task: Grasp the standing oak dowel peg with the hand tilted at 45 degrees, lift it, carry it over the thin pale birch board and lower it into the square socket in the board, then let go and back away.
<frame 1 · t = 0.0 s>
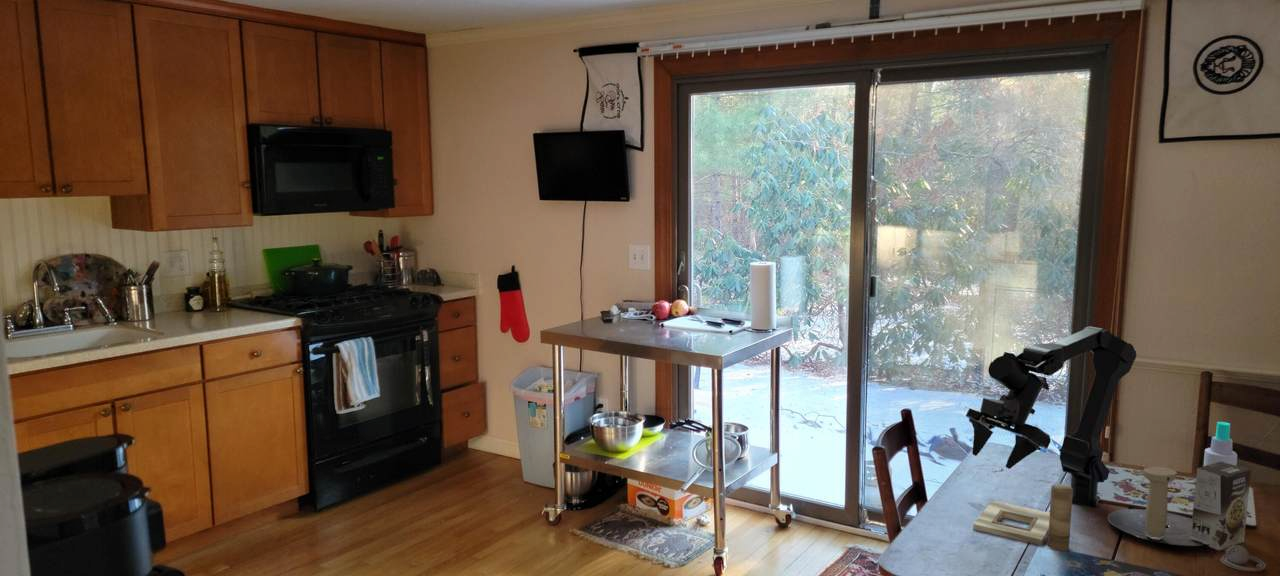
hand: (990, 461, 191), 15 cm above the table, tool tilted 35°, fingers open, 9 cm apart
spray bottle: (1214, 518, 196), on the table
coffee box: (1217, 541, 185), on the table
peg: (1058, 546, 182), on the table
handle: (1154, 539, 186), on the table
socket board: (1015, 524, 194), on the table
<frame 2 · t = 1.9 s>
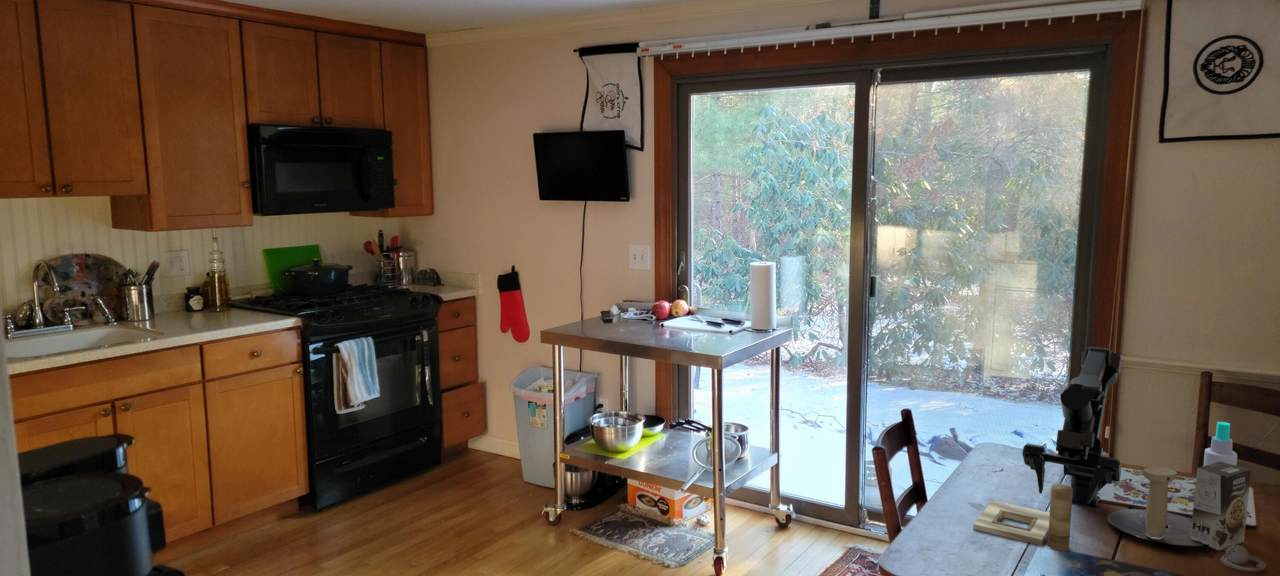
hand: (1063, 497, 183), 10 cm above the table, tool tilted 45°, fingers open, 9 cm apart
nothing on the table moved.
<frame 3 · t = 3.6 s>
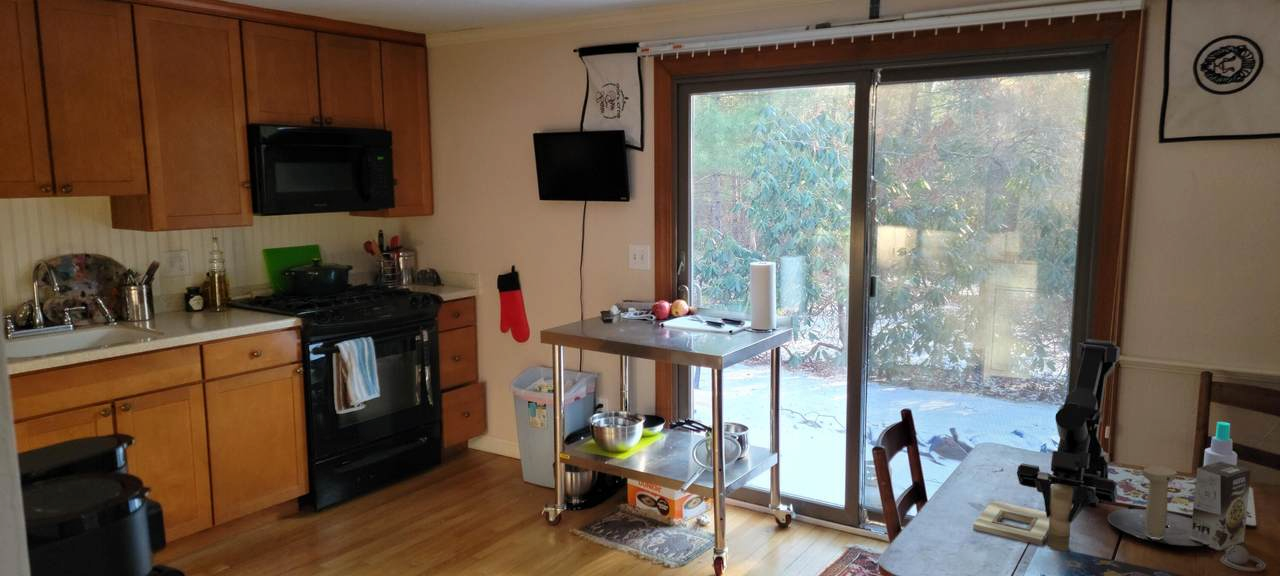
hand: (1058, 519, 180), 7 cm above the table, tool tilted 45°, fingers closed on peg, 4 cm apart
peg: (1058, 546, 182), on the table, touching gripper
everything else where it was.
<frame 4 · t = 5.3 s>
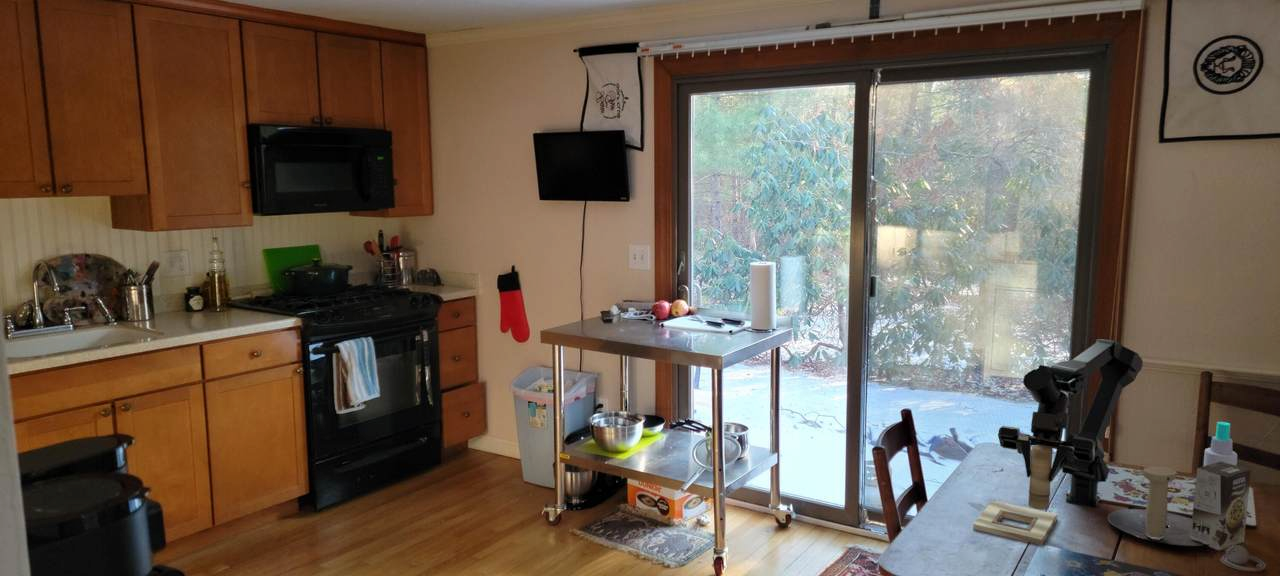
hand: (1039, 478, 185), 13 cm above the table, tool tilted 45°, fingers closed on peg, 4 cm apart
peg: (1038, 505, 187), point 7 cm above the table, touching gripper
everything else where it was.
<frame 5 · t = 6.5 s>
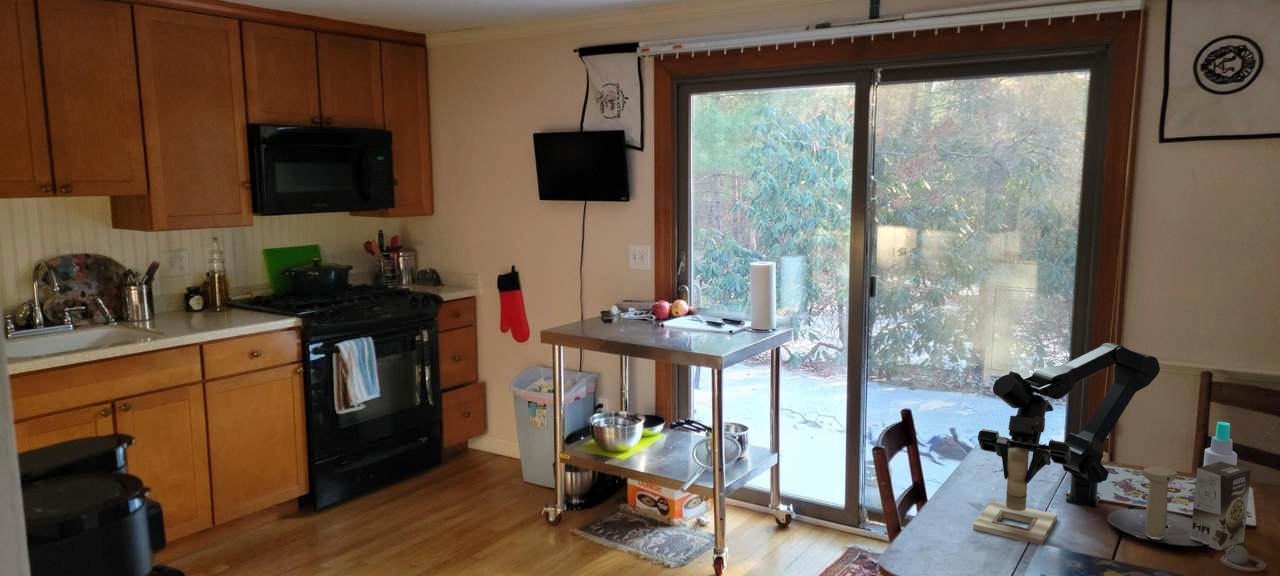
hand: (1015, 480, 190), 11 cm above the table, tool tilted 45°, fingers closed on peg, 4 cm apart
peg: (1015, 507, 192), point 4 cm above the table, touching gripper
everything else where it was.
when the fingers open (8 cm above the table, at t = 7.5 s): peg drops 1 cm, resting in socket board.
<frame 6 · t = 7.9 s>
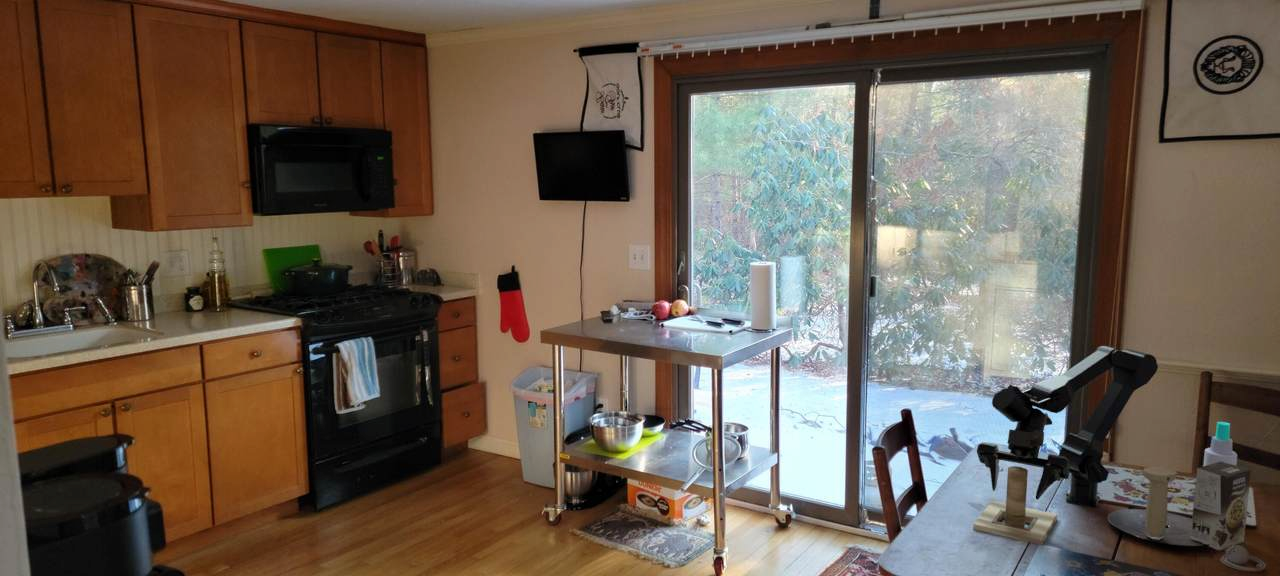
hand: (1014, 494, 191), 8 cm above the table, tool tilted 45°, fingers open, 9 cm apart
peg: (1014, 525, 193), resting in socket board
everything else where it was.
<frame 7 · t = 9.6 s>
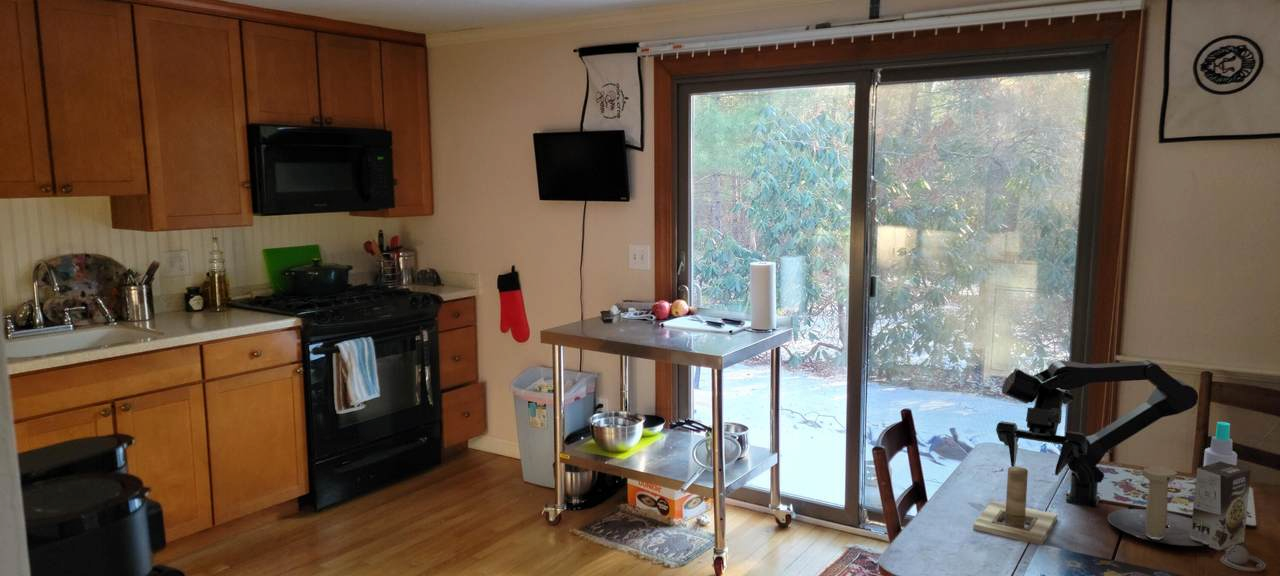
hand: (1033, 470, 196), 11 cm above the table, tool tilted 45°, fingers open, 9 cm apart
nothing on the table moved.
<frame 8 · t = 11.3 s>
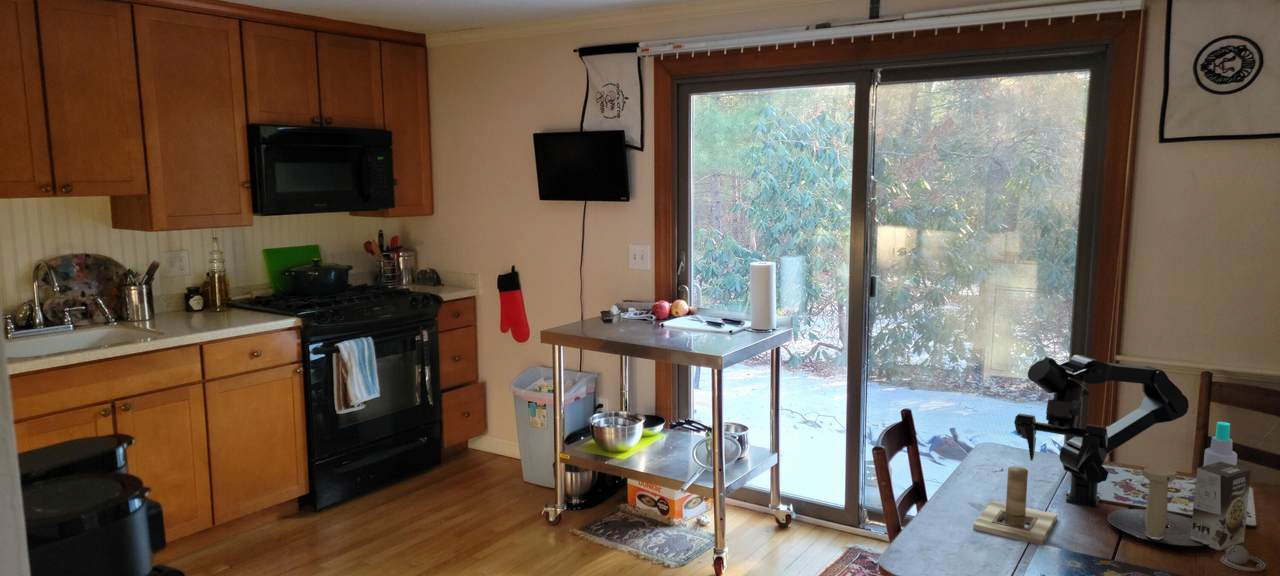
hand: (1053, 463, 193), 14 cm above the table, tool tilted 45°, fingers open, 9 cm apart
nothing on the table moved.
at the end: peg 0.0 cm from the target spot, resting in socket board; peg tilted 0°; the gripper is holding nothing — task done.
